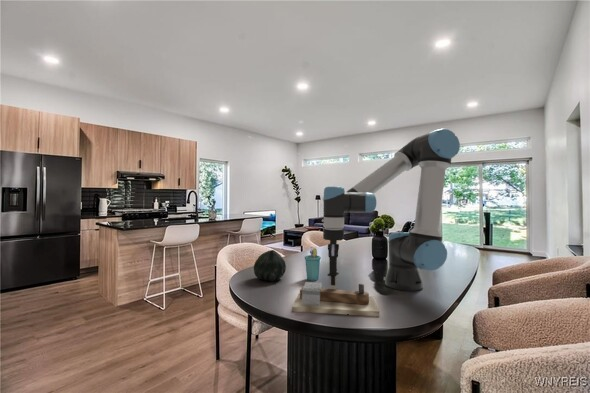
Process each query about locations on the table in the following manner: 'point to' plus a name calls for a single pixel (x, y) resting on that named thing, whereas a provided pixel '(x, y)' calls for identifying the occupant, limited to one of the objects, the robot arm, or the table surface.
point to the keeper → (311, 294)
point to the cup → (312, 265)
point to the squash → (269, 266)
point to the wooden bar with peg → (344, 295)
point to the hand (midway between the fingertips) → (333, 293)
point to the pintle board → (339, 307)
